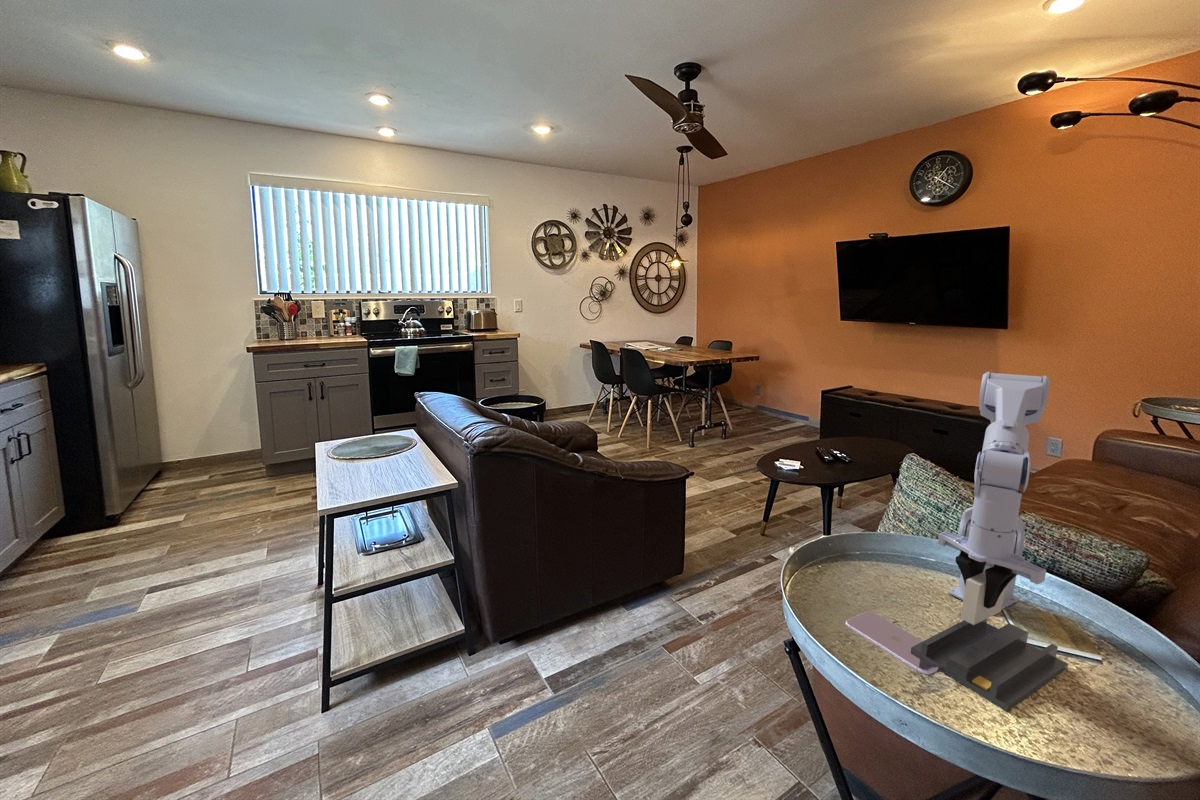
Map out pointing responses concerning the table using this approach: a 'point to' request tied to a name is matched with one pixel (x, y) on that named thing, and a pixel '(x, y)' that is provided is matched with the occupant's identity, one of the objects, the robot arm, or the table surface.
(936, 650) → the charcoal rack
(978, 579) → the panel
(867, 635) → the mobile phone
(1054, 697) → the table surface
